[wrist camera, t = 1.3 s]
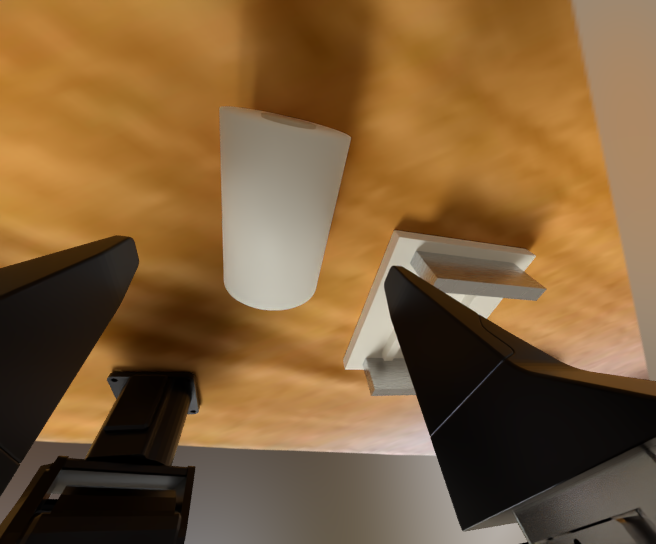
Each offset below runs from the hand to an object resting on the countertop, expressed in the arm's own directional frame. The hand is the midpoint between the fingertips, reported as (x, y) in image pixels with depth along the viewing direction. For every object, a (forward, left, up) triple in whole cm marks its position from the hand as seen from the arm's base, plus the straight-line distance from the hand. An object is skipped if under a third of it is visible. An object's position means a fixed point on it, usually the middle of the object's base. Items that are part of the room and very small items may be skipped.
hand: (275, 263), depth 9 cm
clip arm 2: (-2, -13, -6) cm, 14 cm away
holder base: (-8, -13, -7) cm, 17 cm away
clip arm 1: (-14, -13, -6) cm, 20 cm away
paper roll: (0, 0, -7) cm, 7 cm away
